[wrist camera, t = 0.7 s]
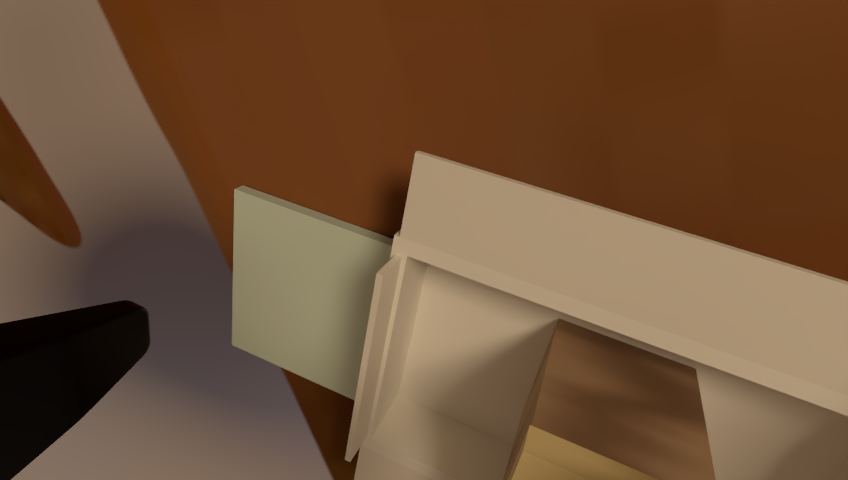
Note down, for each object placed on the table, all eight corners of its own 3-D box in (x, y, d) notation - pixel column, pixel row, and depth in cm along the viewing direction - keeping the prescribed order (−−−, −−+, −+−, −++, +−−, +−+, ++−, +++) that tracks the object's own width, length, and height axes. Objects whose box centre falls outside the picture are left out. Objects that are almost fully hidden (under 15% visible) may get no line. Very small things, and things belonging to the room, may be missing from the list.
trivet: (422, 249, 21) (417, 255, 20) (389, 405, 25) (384, 413, 25) (243, 185, 23) (234, 189, 23) (239, 338, 27) (231, 344, 27)
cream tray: (999, 290, 14) (1153, 403, 10) (736, 599, 22) (761, 739, 18) (445, 129, 19) (389, 161, 14) (381, 434, 26) (331, 515, 22)
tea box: (697, 368, 18) (730, 542, 12) (643, 464, 20) (646, 650, 14) (557, 316, 19) (523, 450, 13) (520, 412, 22) (477, 563, 16)
